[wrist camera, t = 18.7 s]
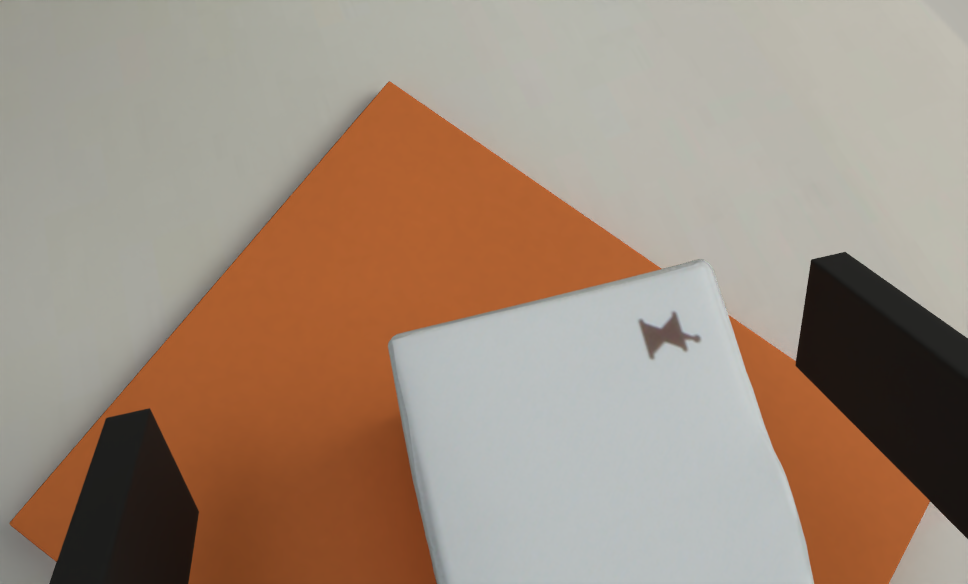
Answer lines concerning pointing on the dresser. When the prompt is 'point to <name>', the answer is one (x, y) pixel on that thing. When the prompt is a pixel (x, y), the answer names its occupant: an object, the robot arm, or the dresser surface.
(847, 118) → the dresser surface
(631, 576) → the cosmetic box
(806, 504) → the orange rectangular board
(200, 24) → the dresser surface
